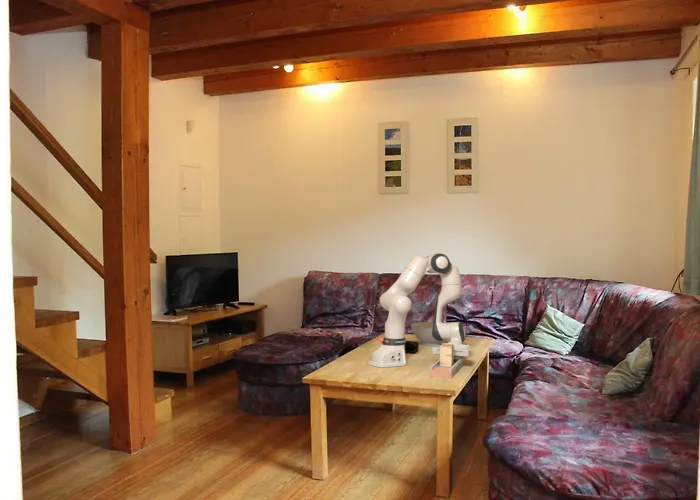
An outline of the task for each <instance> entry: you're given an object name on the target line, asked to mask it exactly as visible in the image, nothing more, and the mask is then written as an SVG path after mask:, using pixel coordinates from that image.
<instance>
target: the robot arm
mask: <svg viewBox="0 0 700 500" xmlns="http://www.w3.org/2000/svg"><path fill="white" fill-rule="evenodd" d="M426 273H429V274H438V275H439V276H440V281H441V290H440V293H439V294H438V295H437V296H436V298H435V303H434V305H435V306H434V313H433V314H434V316H433V321H432V322H433V328H432V336H433V338H434V339H436V340H437V341H442V340H445V341H448V342H447V343H448V344H454V358H459V357H460V358H461V357H465V358H466V357H467V358H469V357H470V356H471V355H470V353H471V352H470V351H471V350H470V345H469V344H468V343H466V342H465V341H466V339H467V332H466V327H465V326H464V324H462V323H461V322H460V321H457V322H454V321H453V322H442V319H443V318H442V317H443V309H444V307H445V306H447V304H449V303H452V302H454V301H455V300H457V299H458V298H459V297H460V296H461V294H462V278H461V275H460V273H461V272H460V270H459V268H458V267H457V266H456V265H453V264H452V263H451V262H450V259H449V257H448V256H447V254H444V253H440V252H439V253H433V254H430V255H428V256H426V257H424V256H423V255H420V254H419V255H415V256H413V257H412V258H411V259H410V260H409V262H408V263H407V264H406V266H405V268H404V269H403V270H402V272H401V274H400V275H399V277H398V278H397V280H396V281H395V282H394V283H393V284H392V285H391V286H390V287H389V288H388V289H387V291H385V292H384V293H382V294H381V295H380V297H379V305H380V306H381V307H382V308H383V309H384V310H386V311H387V312H388V316H387V319H386V321H385V322H384V337H383V338H381V337H379V338H378V342H380V343H381V345H380V346H378V347H377V348H376V349H375V350H374V351H373V352H372V354H371V355H372V356H371V360H368V361H367V364H368V365H370V366H371V367H377V368H390V367H402V366H403V367H404V366H407V364H408V361H407V353H405V341H406V336H405V335H406V333H405V332H406V331H405V330H406V321H407V316H408V313H409V312H410V311H411V309H412V300H411V299H410V298H409V295H410V294H411V293H413V292H415V290H416V289H417V287H418V285H419V283H420V281H421V280H422V279H423V277H424V275H425V274H426ZM431 354H433V355H440V345H433V346H432V347H431Z"/></svg>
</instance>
